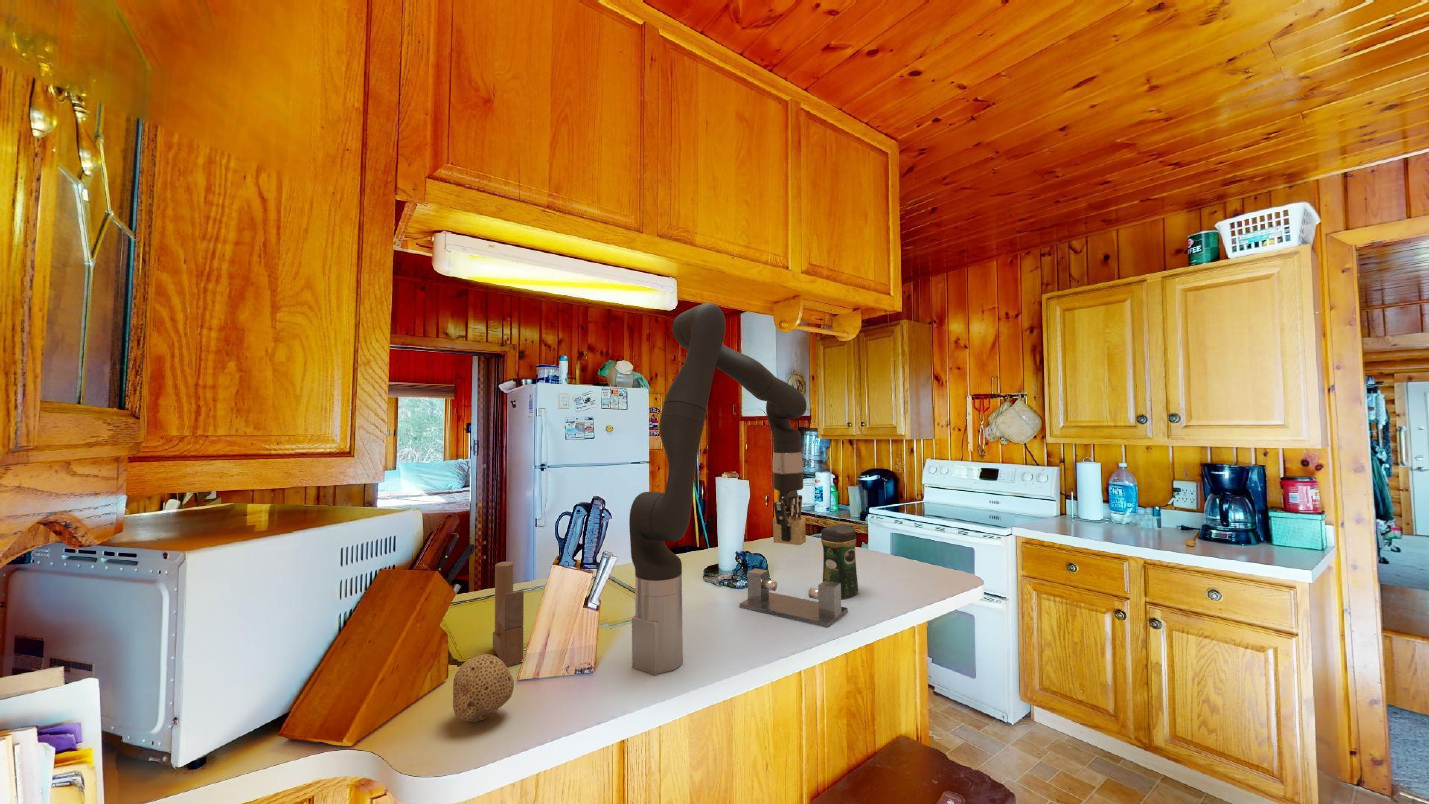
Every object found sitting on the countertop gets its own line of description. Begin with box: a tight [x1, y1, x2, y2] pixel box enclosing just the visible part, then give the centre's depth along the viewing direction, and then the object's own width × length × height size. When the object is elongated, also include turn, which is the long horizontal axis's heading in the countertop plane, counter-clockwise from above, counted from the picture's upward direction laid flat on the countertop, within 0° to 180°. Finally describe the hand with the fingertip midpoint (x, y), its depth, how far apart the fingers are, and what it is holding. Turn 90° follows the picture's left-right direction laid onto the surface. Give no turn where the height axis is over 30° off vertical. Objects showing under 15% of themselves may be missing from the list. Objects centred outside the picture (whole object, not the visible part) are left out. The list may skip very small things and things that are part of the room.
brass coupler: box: [772, 516, 807, 546], centre depth 133 cm, size 4×7×6 cm, turn 61°
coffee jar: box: [820, 523, 859, 599], centre depth 145 cm, size 10×8×19 cm
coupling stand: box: [739, 568, 849, 628], centre depth 133 cm, size 12×24×8 cm, turn 54°
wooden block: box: [492, 561, 525, 668], centre depth 109 cm, size 4×11×18 cm, turn 35°
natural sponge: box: [452, 653, 515, 723], centre depth 85 cm, size 9×9×10 cm
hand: (789, 538), depth 133 cm, fingers closed on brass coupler, 4 cm apart
